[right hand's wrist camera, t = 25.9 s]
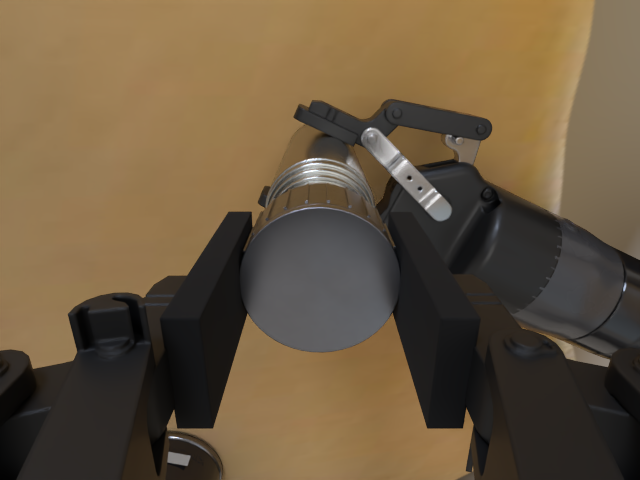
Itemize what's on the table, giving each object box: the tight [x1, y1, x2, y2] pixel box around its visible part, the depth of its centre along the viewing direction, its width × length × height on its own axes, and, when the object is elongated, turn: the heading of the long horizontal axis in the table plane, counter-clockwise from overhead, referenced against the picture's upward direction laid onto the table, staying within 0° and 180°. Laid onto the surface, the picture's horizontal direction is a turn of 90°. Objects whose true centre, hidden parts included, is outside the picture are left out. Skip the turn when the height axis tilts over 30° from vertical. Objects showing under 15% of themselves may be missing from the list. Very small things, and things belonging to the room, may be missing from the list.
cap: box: [239, 183, 401, 352], centre depth 13 cm, size 5×5×3 cm
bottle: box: [265, 124, 375, 209], centre depth 22 cm, size 5×5×19 cm
